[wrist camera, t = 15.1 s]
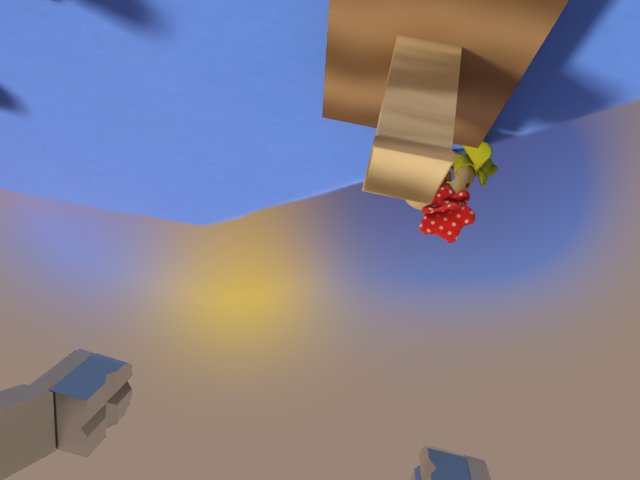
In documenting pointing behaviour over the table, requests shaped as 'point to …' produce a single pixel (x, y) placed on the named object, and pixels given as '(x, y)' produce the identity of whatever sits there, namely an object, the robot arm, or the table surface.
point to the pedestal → (439, 26)
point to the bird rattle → (456, 194)
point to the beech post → (415, 121)
